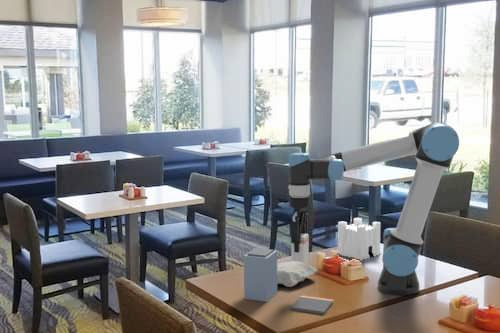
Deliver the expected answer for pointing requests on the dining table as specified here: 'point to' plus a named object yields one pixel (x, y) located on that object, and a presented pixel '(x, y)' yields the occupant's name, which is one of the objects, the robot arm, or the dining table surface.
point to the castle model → (358, 239)
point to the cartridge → (302, 247)
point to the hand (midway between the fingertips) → (300, 258)
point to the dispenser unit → (260, 274)
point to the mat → (312, 304)
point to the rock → (293, 273)
